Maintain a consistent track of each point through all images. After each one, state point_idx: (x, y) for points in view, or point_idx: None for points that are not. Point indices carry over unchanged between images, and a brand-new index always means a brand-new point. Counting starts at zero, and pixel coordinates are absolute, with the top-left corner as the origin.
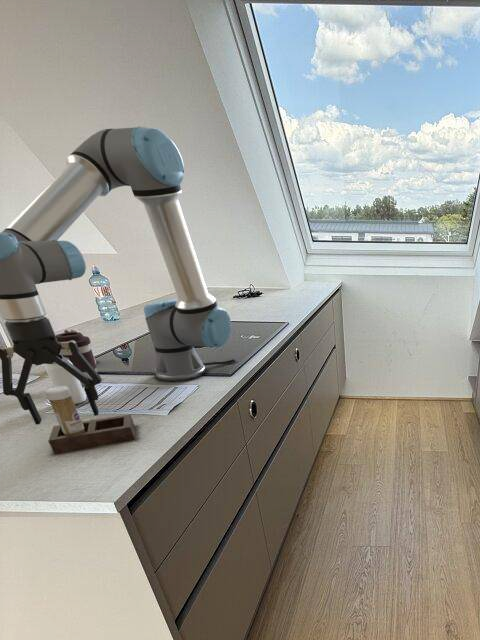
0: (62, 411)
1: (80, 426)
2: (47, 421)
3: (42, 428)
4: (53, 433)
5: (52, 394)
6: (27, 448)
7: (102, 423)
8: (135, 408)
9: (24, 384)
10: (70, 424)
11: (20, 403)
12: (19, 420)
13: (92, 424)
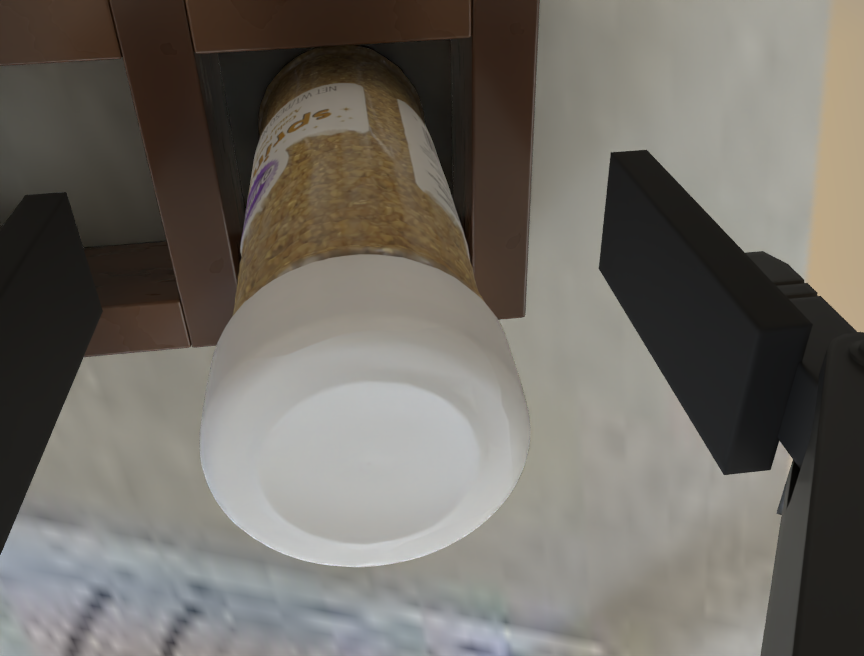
0: (355, 183)
1: (260, 145)
2: (591, 548)
3: (614, 463)
4: (509, 143)
5: (406, 309)
6: (701, 168)
7: (140, 288)
8: (72, 603)
9: (826, 475)
10: (326, 118)
11: (819, 299)
12: (728, 592)
13: (193, 236)
